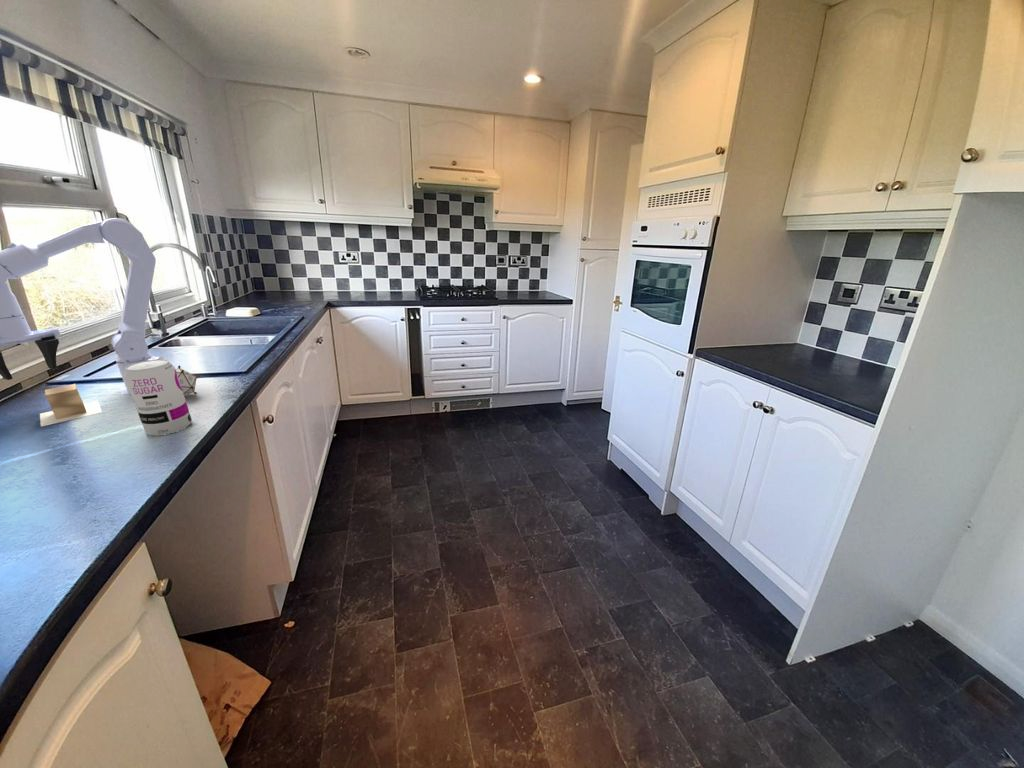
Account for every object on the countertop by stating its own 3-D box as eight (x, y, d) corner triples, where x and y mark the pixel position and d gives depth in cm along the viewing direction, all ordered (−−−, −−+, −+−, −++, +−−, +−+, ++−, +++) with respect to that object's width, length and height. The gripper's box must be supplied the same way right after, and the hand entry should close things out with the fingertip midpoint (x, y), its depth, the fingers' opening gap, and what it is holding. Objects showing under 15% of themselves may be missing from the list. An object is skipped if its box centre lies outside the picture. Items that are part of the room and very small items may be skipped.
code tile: (98, 403, 104) (97, 400, 104) (103, 414, 98) (102, 411, 97) (40, 415, 97) (39, 413, 97) (41, 428, 91) (40, 426, 91)
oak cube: (84, 406, 100) (75, 383, 98) (86, 412, 97) (76, 389, 95) (55, 413, 97) (44, 389, 95) (56, 419, 94) (45, 395, 92)
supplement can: (186, 416, 96) (166, 356, 91) (197, 427, 91) (177, 363, 86) (142, 429, 90) (117, 365, 85) (151, 441, 85) (126, 373, 80)
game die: (179, 413, 107) (138, 391, 100) (189, 391, 113) (151, 369, 106) (205, 397, 106) (166, 373, 99) (214, 375, 112) (177, 352, 105)
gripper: (39, 309, 99) (62, 362, 104) (-55, 322, 87) (-23, 381, 92) (55, 311, 97) (78, 365, 102) (-39, 324, 84) (-7, 385, 89)
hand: (31, 373), depth 97 cm, fingers open, 7 cm apart
